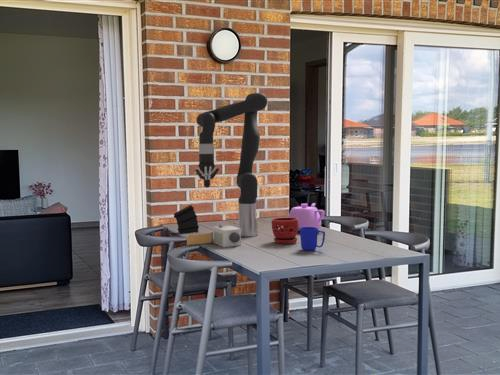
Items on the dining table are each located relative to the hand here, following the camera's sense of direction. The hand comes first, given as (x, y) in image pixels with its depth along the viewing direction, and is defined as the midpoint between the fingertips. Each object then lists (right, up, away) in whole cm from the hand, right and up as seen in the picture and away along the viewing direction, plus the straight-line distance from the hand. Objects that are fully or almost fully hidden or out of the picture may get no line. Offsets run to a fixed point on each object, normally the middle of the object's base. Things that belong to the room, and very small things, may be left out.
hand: (206, 187), depth 289 cm
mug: (+50, -29, -25) cm, 63 cm away
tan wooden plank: (-3, -28, -7) cm, 29 cm away
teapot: (+52, -24, +31) cm, 65 cm away
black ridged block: (-13, -25, +27) cm, 39 cm away
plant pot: (+39, -27, -5) cm, 48 cm away
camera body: (+10, -28, -8) cm, 31 cm away
